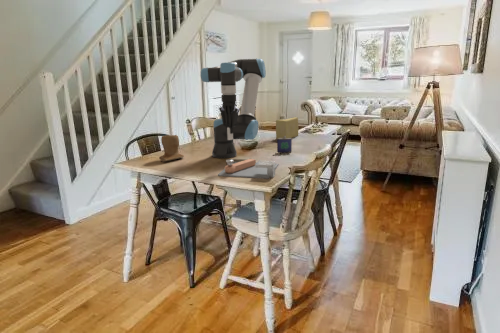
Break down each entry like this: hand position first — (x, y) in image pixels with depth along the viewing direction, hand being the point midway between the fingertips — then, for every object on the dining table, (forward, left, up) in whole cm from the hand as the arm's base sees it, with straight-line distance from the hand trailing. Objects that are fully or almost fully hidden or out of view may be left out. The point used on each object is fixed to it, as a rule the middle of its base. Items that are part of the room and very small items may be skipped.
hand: (230, 139), depth 181 cm
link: (+6, -4, -14) cm, 16 cm away
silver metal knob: (+3, -11, -11) cm, 16 cm away
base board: (+11, -3, -15) cm, 19 cm away
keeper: (+21, -11, -15) cm, 29 cm away
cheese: (+17, +91, -16) cm, 94 cm away
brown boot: (-42, +11, -16) cm, 46 cm away
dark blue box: (+22, +41, -16) cm, 49 cm away
